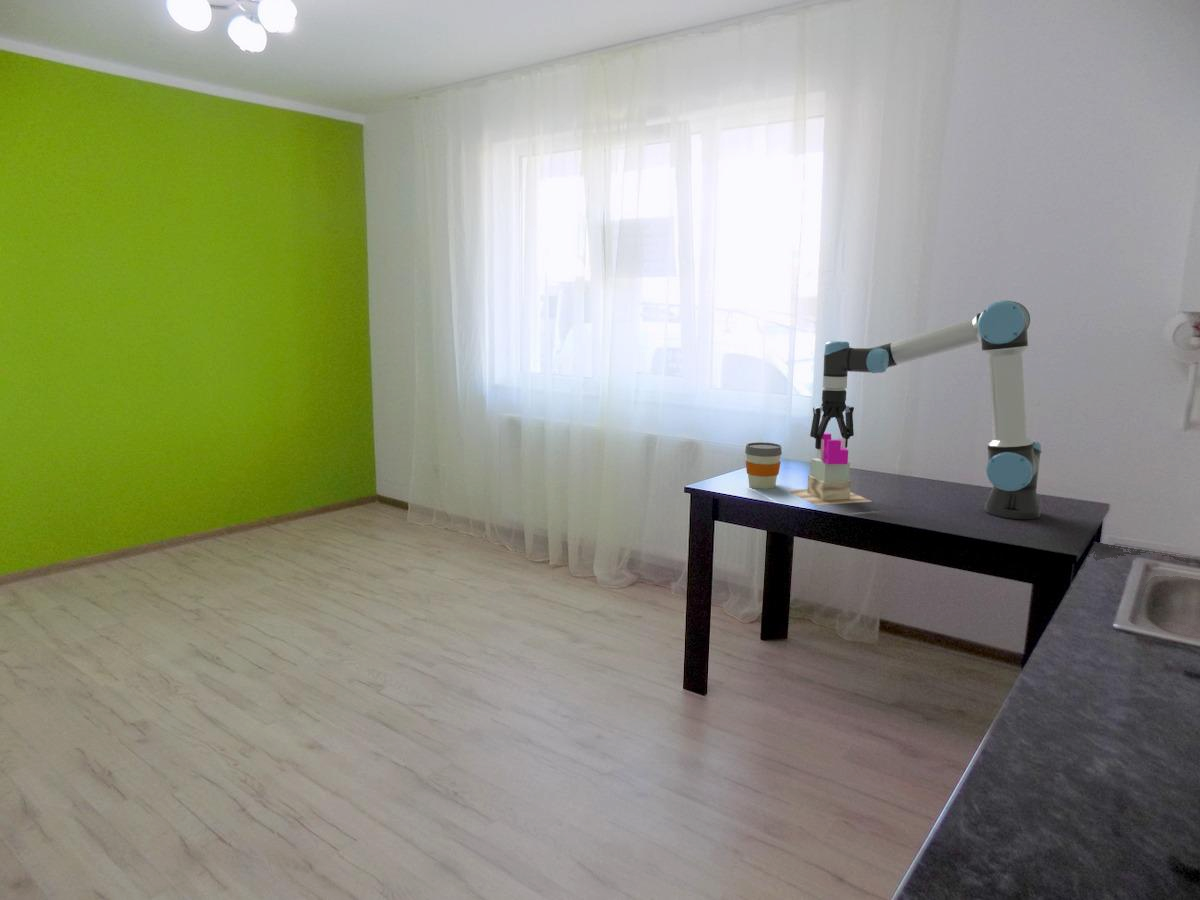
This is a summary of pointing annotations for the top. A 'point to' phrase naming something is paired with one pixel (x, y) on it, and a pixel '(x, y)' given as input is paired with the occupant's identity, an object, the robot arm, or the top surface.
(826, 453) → the toy block
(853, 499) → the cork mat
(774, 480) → the reusable coffee cup
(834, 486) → the tower base
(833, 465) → the tower top
